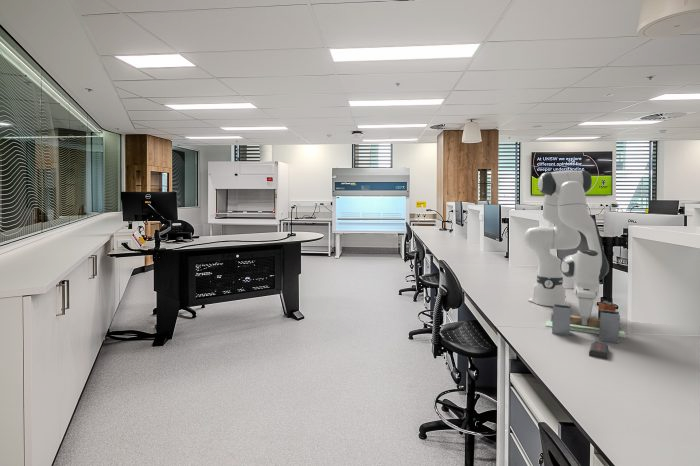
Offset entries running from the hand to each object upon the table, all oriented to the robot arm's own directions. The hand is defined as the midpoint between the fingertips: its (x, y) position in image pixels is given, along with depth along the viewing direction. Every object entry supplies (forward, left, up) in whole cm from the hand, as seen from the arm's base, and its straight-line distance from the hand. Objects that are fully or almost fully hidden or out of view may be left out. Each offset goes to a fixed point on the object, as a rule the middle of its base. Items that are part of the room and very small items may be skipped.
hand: (584, 323), depth 169 cm
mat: (0, 0, -3) cm, 3 cm away
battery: (-12, +8, -3) cm, 15 cm away
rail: (0, 0, -1) cm, 1 cm away
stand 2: (+10, +8, -3) cm, 13 cm away
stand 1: (+10, -8, -3) cm, 13 cm away
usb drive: (+27, +5, -3) cm, 28 cm away
